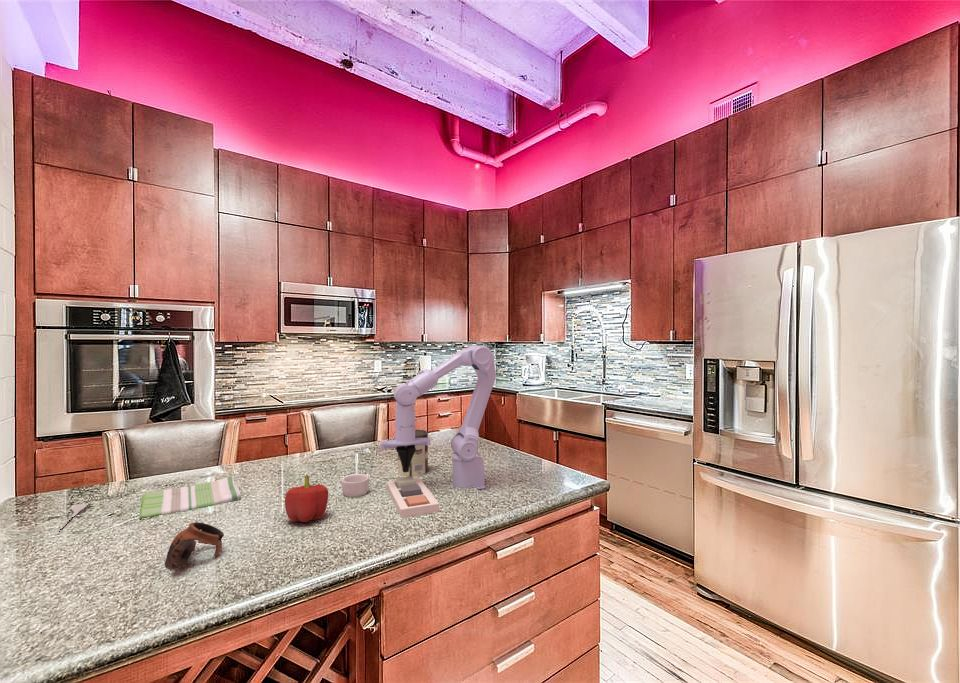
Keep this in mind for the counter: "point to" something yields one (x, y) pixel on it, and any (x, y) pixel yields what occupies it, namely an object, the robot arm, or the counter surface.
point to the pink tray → (401, 501)
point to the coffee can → (417, 458)
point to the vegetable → (306, 502)
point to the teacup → (355, 485)
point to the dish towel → (189, 497)
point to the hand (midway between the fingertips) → (405, 471)
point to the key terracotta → (416, 500)
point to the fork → (78, 508)
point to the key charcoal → (410, 490)
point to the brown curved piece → (192, 543)
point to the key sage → (404, 481)
